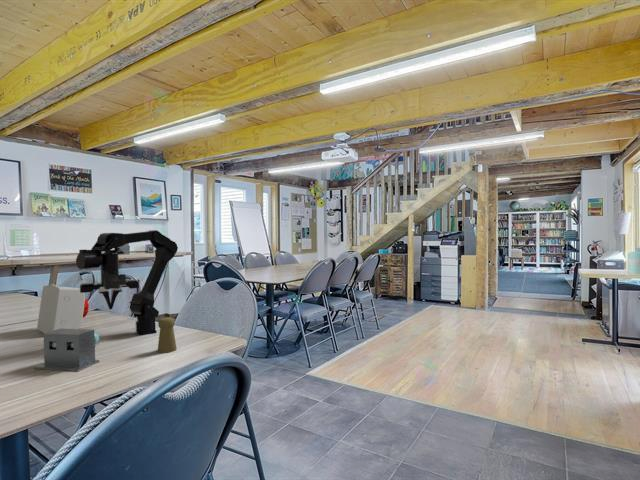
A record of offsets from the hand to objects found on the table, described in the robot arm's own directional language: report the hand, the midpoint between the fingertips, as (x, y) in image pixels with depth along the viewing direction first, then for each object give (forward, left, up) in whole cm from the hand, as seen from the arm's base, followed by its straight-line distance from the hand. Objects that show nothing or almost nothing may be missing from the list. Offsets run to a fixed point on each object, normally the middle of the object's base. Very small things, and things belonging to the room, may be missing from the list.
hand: (110, 309), depth 138 cm
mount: (+13, +20, -12) cm, 27 cm away
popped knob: (+10, +21, -8) cm, 24 cm away
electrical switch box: (+13, -33, -12) cm, 38 cm away
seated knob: (+14, +17, -8) cm, 23 cm away
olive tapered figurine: (-14, +24, -12) cm, 30 cm away
